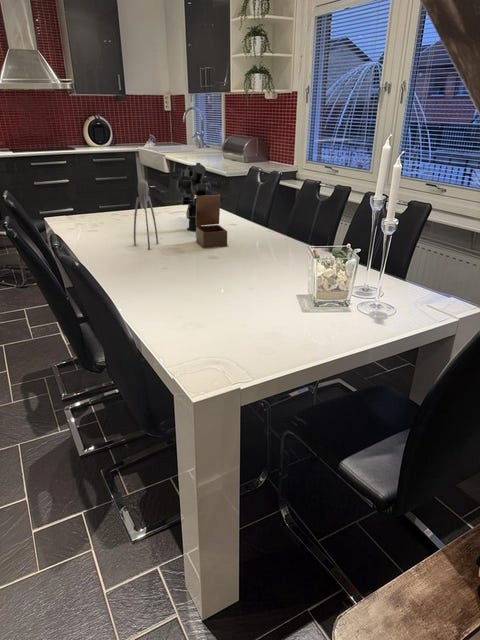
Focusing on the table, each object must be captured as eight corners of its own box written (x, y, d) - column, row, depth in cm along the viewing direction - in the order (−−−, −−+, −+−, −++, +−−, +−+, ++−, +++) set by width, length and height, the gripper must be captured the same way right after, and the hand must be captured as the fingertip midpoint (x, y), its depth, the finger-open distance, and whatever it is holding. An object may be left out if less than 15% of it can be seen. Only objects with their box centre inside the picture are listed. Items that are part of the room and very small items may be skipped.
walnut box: (227, 246, 220) (227, 231, 217) (203, 248, 217) (203, 232, 214) (218, 239, 232) (218, 224, 229) (196, 241, 228) (195, 226, 226)
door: (220, 195, 221) (219, 194, 221) (196, 196, 217) (196, 195, 218) (219, 224, 229) (218, 223, 229) (196, 225, 225) (195, 225, 226)
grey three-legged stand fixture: (149, 249, 213) (144, 182, 201) (129, 248, 215) (123, 181, 203) (158, 243, 223) (154, 178, 211) (139, 242, 225) (133, 177, 213)
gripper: (181, 176, 225) (187, 204, 220) (218, 175, 231) (225, 202, 225) (178, 191, 235) (184, 217, 230) (214, 189, 240) (220, 215, 235)
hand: (203, 212), depth 230 cm, fingers closed
